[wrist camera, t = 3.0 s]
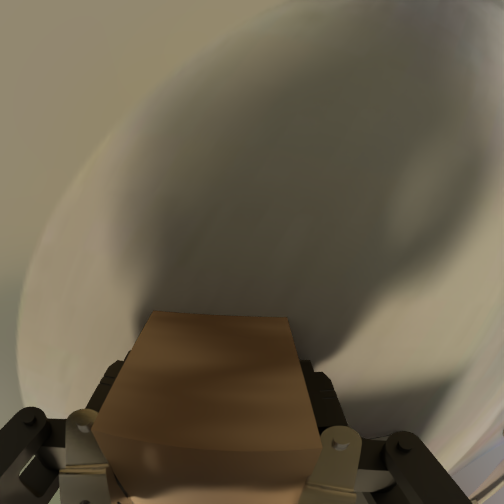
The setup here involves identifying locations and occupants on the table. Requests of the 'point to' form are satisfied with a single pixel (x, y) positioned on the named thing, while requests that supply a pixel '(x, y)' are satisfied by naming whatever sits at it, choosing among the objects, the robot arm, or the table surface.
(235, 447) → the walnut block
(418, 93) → the table surface
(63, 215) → the table surface
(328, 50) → the table surface
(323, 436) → the robot arm
